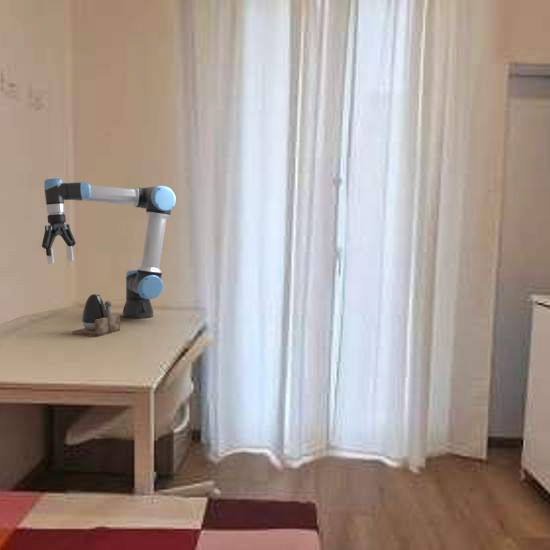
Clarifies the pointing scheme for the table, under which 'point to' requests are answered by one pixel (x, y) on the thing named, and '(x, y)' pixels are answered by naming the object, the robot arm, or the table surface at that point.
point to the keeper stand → (103, 324)
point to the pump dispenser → (93, 311)
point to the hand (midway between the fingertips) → (61, 262)
